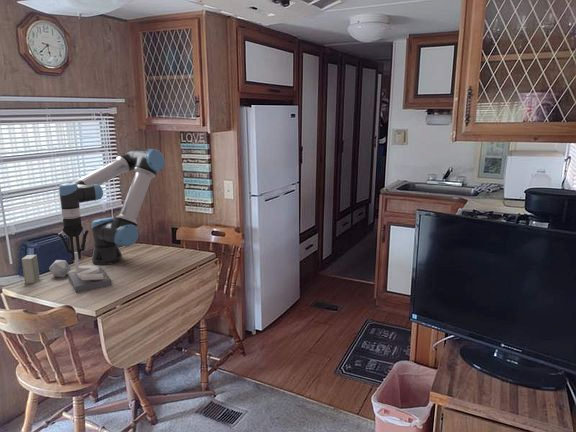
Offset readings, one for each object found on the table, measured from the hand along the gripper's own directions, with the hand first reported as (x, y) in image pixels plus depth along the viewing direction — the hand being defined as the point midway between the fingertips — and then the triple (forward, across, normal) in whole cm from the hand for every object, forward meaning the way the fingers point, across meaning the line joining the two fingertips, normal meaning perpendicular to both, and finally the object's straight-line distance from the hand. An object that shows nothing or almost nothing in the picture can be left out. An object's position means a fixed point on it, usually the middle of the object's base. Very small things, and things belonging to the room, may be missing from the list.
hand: (77, 265), depth 205 cm
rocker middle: (+3, +4, -7) cm, 8 cm away
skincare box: (+7, -18, +11) cm, 22 cm away
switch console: (+7, +4, -7) cm, 10 cm away
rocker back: (+3, +4, 0) cm, 5 cm away
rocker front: (+3, +4, -14) cm, 15 cm away
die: (+7, -6, +11) cm, 14 cm away
